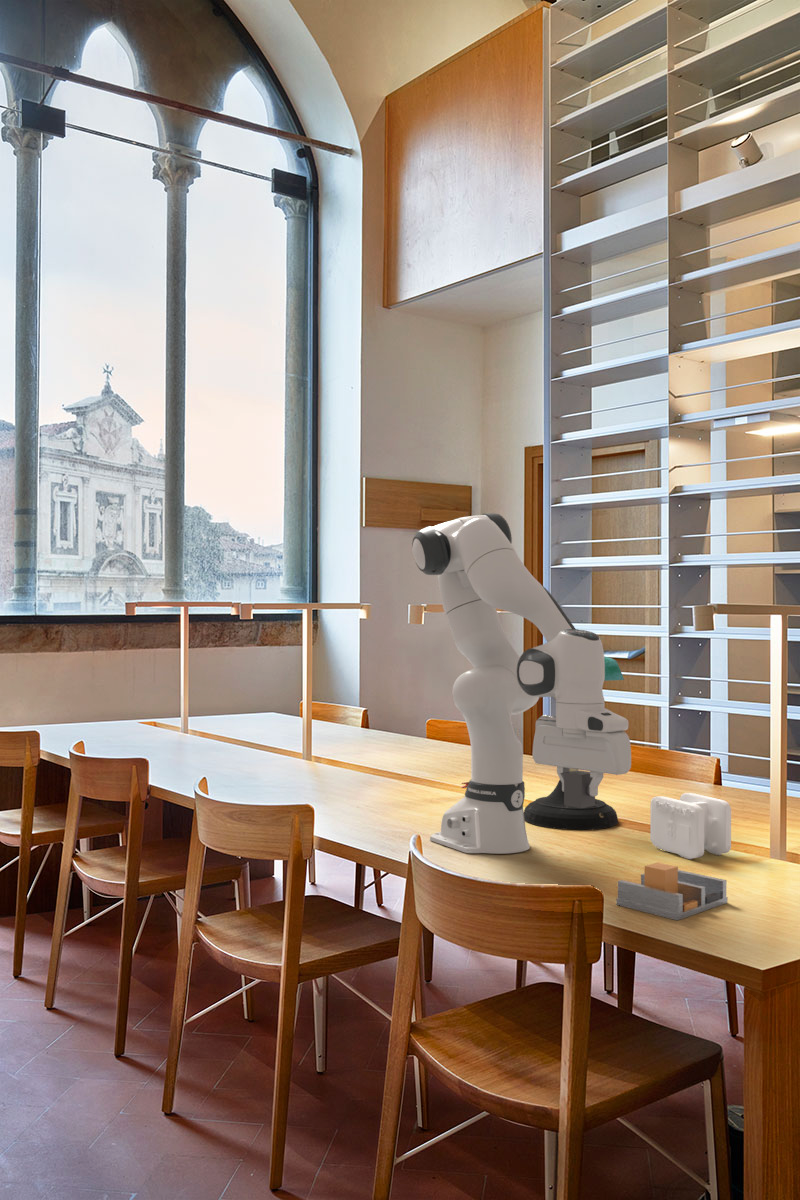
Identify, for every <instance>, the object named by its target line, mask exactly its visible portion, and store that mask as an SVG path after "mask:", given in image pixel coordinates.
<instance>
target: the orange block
mask: <svg viewBox="0 0 800 1200" xmlns="http://www.w3.org/2000/svg"><path fill="white" fill-rule="evenodd" d="M678 870H679V867H678V866H675V865H671V864H666V863H662V862H654V863H651V864H647V865H644V874H645V879H644V885H645V886H650V887H654V888H658V889H662V890H667V891H671V892H675V893H678Z"/></svg>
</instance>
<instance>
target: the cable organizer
mask: <svg viewBox="0 0 800 1200" xmlns="http://www.w3.org/2000/svg"><path fill="white" fill-rule="evenodd" d="M649 830H650V831H649V832H650V835H649V836H650V842H651V844H653V846H654V847H655V848H657V849H658V850H659V849H662V850H665V851H668V852H670V853H674V854H677V855H679V857H680V858H683V857H684V859H687V860H693V859H697V858H702V856H704V854H705V850H706V851H707V852H708V853H710V854H713V855H716V856H722V855H723V854H727V853H729V852H730V851H731V848H732V807H731V804H729V802H728V801H726V800H724V799H719V798H716V797H711V796H708V795H707V796H706V795H702V794H698V793H694V792H684V793H682V794H681V796H680V797H679V799H676V798H672V797H667V796H663V795H662V796H659V795H658V796H654V797H652V798H651V800H650V828H649ZM668 852H667V853H668Z"/></svg>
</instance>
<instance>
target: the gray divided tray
mask: <svg viewBox="0 0 800 1200" xmlns="http://www.w3.org/2000/svg"><path fill="white" fill-rule="evenodd" d="M644 879H645V873H642V874H640V883H636V882H632V881H629V880H624V879H620V880H618V881H617V898H616V903H615V904H616V906H619V905H620V907H623V908H628V909H632V910H636V911H639V912H644V913H646V914H650V915H654V916H657V917H658V916H660V917H662V918H667V919H670V920H674V921H680V920H683V919H685V918H688V917H691V916H694V915H697V914H699V913H703V912H705V911H708V910H710V909H714V908H717V907H720V906H723V905H725V904H728V897H729V896H727V879H723V878H717V877H714V876H708V875H703V874H699V873H695V872H690V871H685V870H681V869H678V893H675V892H671V891H667V890H662V889H658V888H654V887H650V886H645V885H644Z"/></svg>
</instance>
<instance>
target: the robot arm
mask: <svg viewBox="0 0 800 1200" xmlns="http://www.w3.org/2000/svg"><path fill="white" fill-rule="evenodd" d="M512 539H513V538H512V531H511V528H510V526H509V523H508V522H507V519H505V518H504V517H503V516H502V515H501V514H499V513H495V512H494V513H493V512H486V513H482V514H481V515H480V514H478V515H477V514H476V515H471V516H470V515H469V516H463V517H462V516H461V517H458V518H455V519H453V520H449V521H445V522H442V523H438V524H436V525H434V526H431V525H428V526H425V527H424V528H422V529H420V530H418V531H417V532H416V533H415V535H414V537H413V538H412V543H411V548H412V555H413V558H414V559H413V560H414V562H415V564H416V566H417V568H418V569H419V570H420V571H421V572H422V573H423V574H425V575H428V576H437V583H438V590H439V596H440V601H441V604H442V609H443V612H444V615H445V618H446V621H447V625H448V627H449V630H450V633H451V636H452V639H453V642H454V645H455V647H456V649H457V651H458V652H459V653H460V654H461V655H463V656H464V657H465V658H466V659H467V660H468V662H469V663H470V664H471V666H472V667H473V668H472V669H469V670H467V671H465V672H463V673H461V674H460V675H459V676H458V677H457V678H456V679H455V681H454V683H453V686H452V690H451V693H452V700H453V703H454V706H455V707H456V709H457V710H458V712H460V713H461V715H462V717H463V719H464V721H465V724H466V728H467V733H468V737H469V741H470V742H469V743H470V759H471V760H470V763H471V764H470V766H471V768H470V769H471V772H470V774H471V775H470V778H471V779H469V781H466V782H462V783H461V785H463V786H461V788H462V789H466V790H465V792H464V796H463V797H462V798H460V799H459V800H458V801H457V802H456V803H455V804H453V805H452V806H451V807H449V809H447V810H446V811H445V812H444V814H443V815H442V817H441V823H440V831H438V832H435V833H433V834H431V835H430V837H429V841H431V842H434V843H437V844H439V845H443V846H446V847H449V848H451V849H455V850H457V851H459V852H463V853H464V854H495V855H496V854H503V855H504V854H516V853H522V852H526V851H528V850H529V849H530V848H531V847H530V843H529V840H528V835H527V829H526V823H525V822H526V821H525V820H524V802H525V796H526V795H525V794H526V793H525V792H526V790H525V789H526V788H525V782H524V781H523V778H524V776H523V774H524V773H523V772H524V769H523V767H524V762H523V760H524V759H523V757H524V747H523V744H522V742H521V740H520V739H518V736H517V735H516V733H515V732H516V731H515V729H514V724H513V720H512V716H513V715H519V714H523V713H524V712H526V711H528V710H529V709H530V708H532V707H534V706H535V705H536V704H537V702H538V701H539V699H540V698H555V697H556V699H555V715H548V714H542V715H541V716H539V718H537V719H536V721H535V733H534V737H533V743H532V753H531V754H532V759H533V761H534V763H535V764H537V765H544V766H552V767H556V774H557V776H558V778H559V780H561V782H562V791H563V792H564V772H570V768H572V769H578V770H579V771H586V772H590V777H593V779H592V781H591V783H590V785H589V786H586V795H587V796H595V797H597V796H598V795H599V786H600V784H601V782H602V780H603V779H604V774H608V775H614V776H617V775H619V776H620V775H625V774H628V773H629V771H630V770H631V768H632V747H631V746H632V745H631V740H630V737H629V735H628V734H627V732H625V731H627V730H628V729H629V719H627V718H625V717H624V716H621V715H619V714H617V713H615V712H613V711H611V710H610V709H608V708H606V707H605V704H606V703H605V697H604V693H603V686H604V683H605V681H604V679H605V663H604V657H605V654H604V653H605V651H604V647H603V646H604V645H603V642H602V640H601V636H599V635H598V634H596V633H595V632H592V631H589V630H583V629H577V628H576V627H575V626H574V624H573V623H572V622H571V620H570V619H569V617H568V616H567V614H566V613H565V612H564V611H563V608H562V607H561V606H560V604H559V603H558V601H557V600H556V599H555V597H553V595H552V594H551V593H550V591H549V590H548V589H547V588H546V587H545V586H544V585H543V584H541V582H539V581H538V580H537V579H536V578H535V577H534V576H533V575H532V573H530V571H529V570H528V568H527V567H526V566H525V565H524V563H523V562H522V560H521V558H520V557H519V556H518V554H517V552H516V550H515V548H514V546H513V544H512V542H513V540H512ZM497 609H498V610H502V611H505V612H509V613H512V614H515V615H517V616H520V617H522V618H525V619H526V620H527V621H529V622H530V623H532V624H534V625H535V627H537V629H538V630H539V631H540V633H541V634H542V636H543V637H544V639H545V640H546V642H545V643H543V644H540V645H537V646H534V647H532V648H531V647H530V648H528V649H526V650H525V651H523V652H522V654H521V655H520V654H519V653H518V652H517V651H516V649H515V647H514V646H513V644H512V643H511V640H510V639H509V638H508V636H507V633H506V631H505V629H504V627H503V625H502V621H501V618H500V615H499V613H498V611H497Z"/></svg>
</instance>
